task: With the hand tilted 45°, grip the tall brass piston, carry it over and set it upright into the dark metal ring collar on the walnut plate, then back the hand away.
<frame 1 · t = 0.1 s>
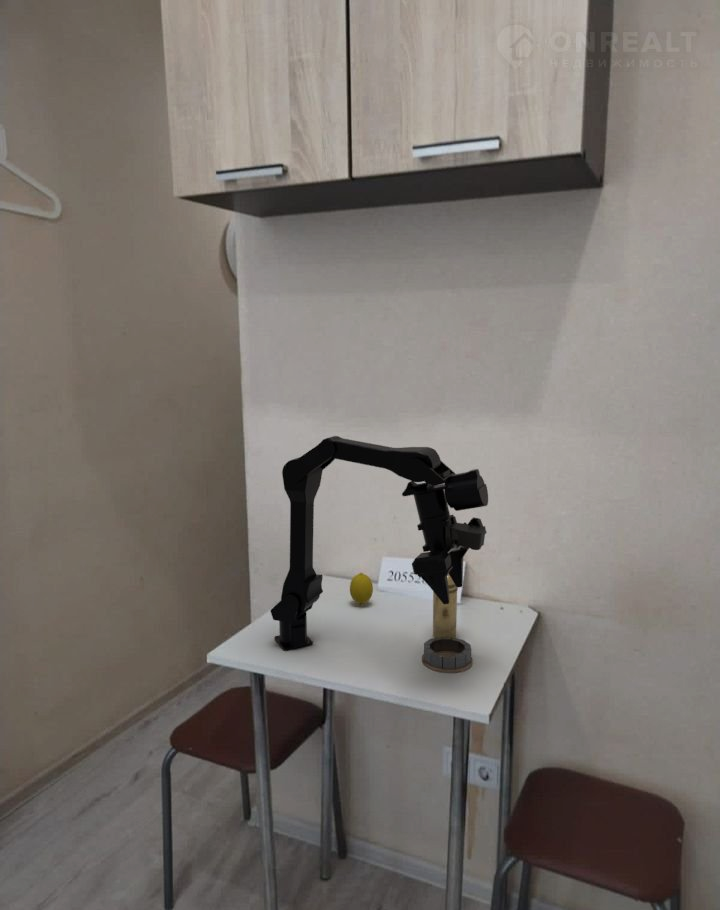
hand: (453, 595, 125), 15 cm above the table, tool pointing down, fingers open, 9 cm apart
collar plate: (447, 661, 132), on the table
collar: (447, 652, 132), on the collar plate
lemon: (361, 605, 161), on the table
piston: (444, 635, 143), on the table
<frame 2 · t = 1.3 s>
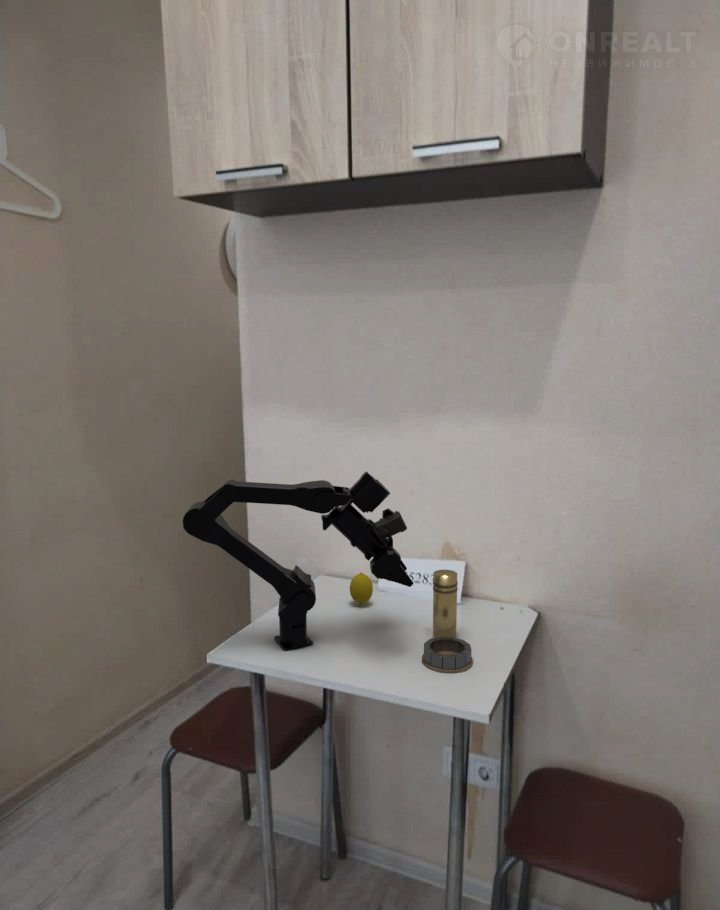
hand: (408, 577, 141), 13 cm above the table, tool tilted 45°, fingers open, 9 cm apart
nothing on the table moved.
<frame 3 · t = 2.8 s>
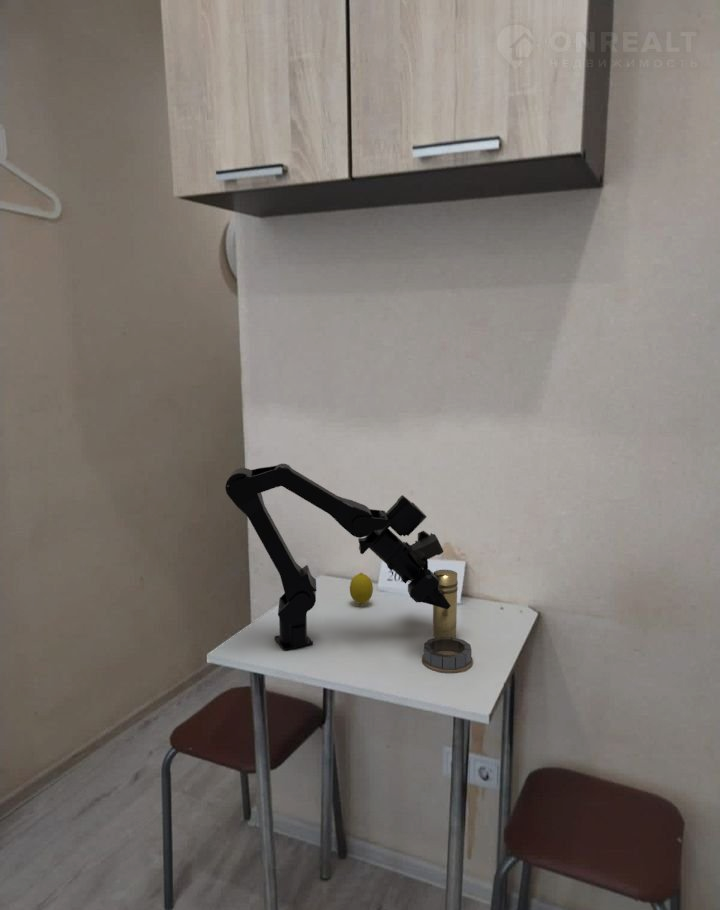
hand: (444, 599, 142), 8 cm above the table, tool tilted 45°, fingers open, 9 cm apart
nothing on the table moved.
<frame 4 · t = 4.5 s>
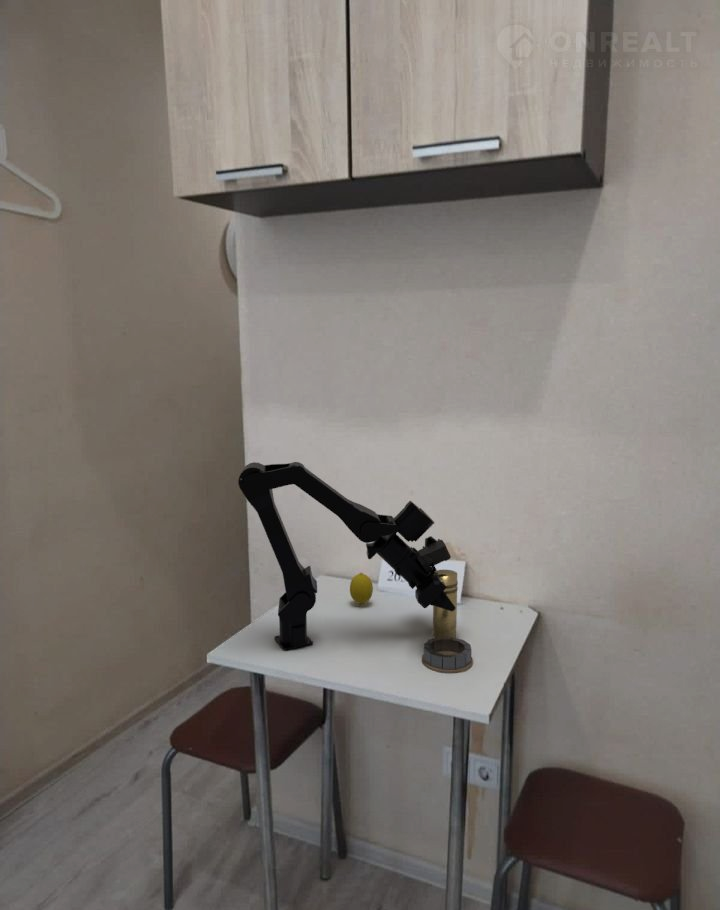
hand: (451, 604, 142), 7 cm above the table, tool tilted 45°, fingers closed on piston, 5 cm apart
piston: (444, 635, 144), on the table, touching gripper
everything else where it was.
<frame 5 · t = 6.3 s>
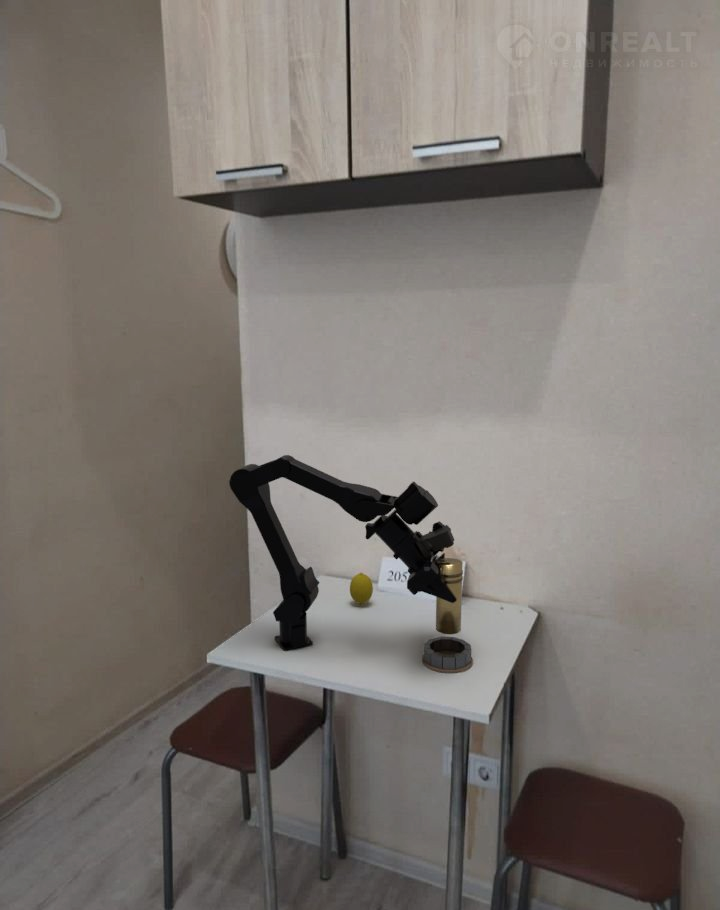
hand: (455, 596, 133), 12 cm above the table, tool tilted 45°, fingers closed on piston, 5 cm apart
piston: (448, 629, 134), point 5 cm above the table, touching gripper
everything else where it was.
when the fingers open (9 cm above the table, at t = 8.2 s): piston drops 1 cm, resting on collar plate.
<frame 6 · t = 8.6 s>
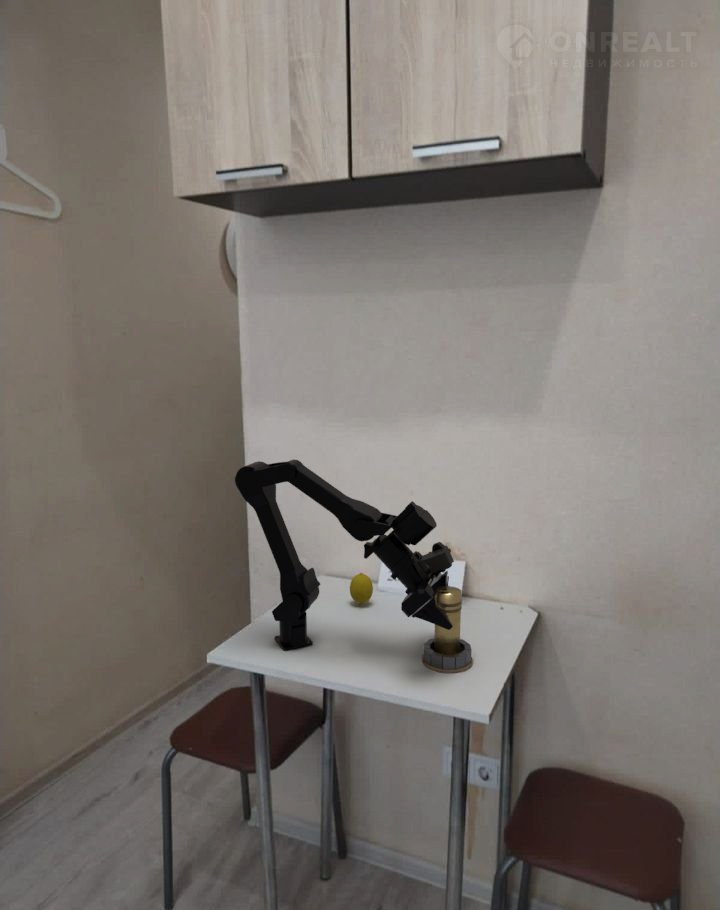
hand: (454, 618, 130), 9 cm above the table, tool tilted 45°, fingers open, 9 cm apart
piston: (446, 658, 132), point 1 cm above the table, touching collar plate
everything else where it was.
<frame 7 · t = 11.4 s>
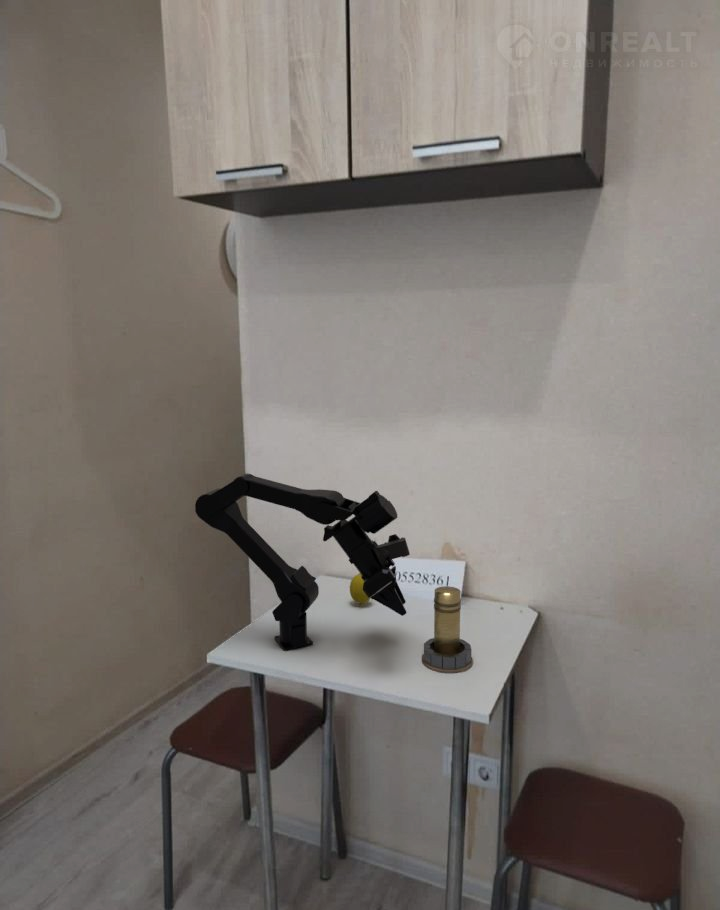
hand: (404, 608, 134), 10 cm above the table, tool tilted 40°, fingers open, 9 cm apart
nothing on the table moved.
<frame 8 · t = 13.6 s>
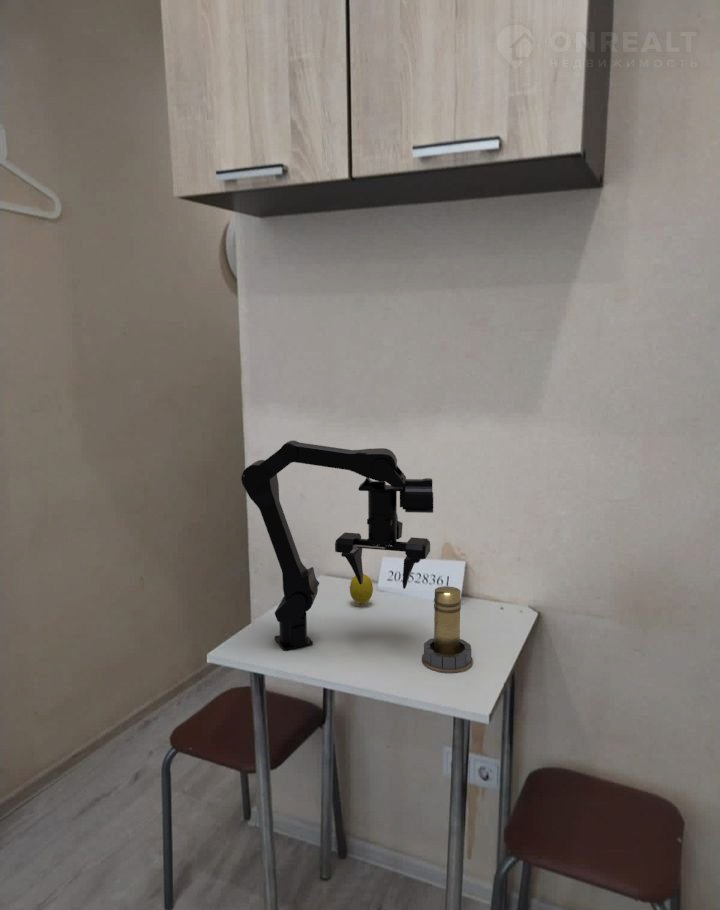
hand: (382, 585, 137), 13 cm above the table, tool pointing down, fingers open, 9 cm apart
nothing on the table moved.
at the end: piston 0.1 cm off-centre on the collar, point 0.5 cm above the collar's base; piston tilted 0°; the gripper is holding nothing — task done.
